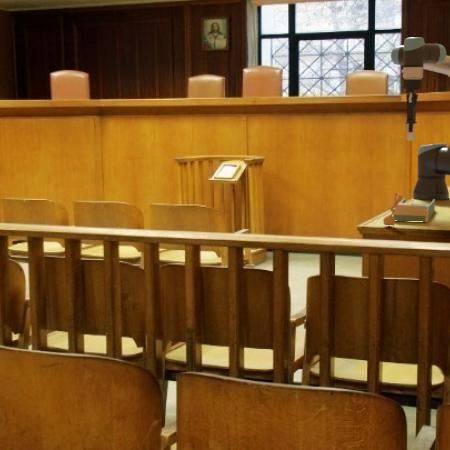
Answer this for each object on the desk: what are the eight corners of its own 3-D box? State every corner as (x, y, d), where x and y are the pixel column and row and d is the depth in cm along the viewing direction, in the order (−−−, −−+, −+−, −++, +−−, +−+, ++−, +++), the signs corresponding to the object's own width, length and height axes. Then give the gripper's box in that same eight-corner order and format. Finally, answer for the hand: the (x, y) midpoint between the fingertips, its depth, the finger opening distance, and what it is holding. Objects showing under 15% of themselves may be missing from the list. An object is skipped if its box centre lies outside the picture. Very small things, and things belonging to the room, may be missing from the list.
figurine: (385, 224, 268) (386, 190, 266) (402, 225, 266) (404, 190, 264) (381, 228, 261) (382, 193, 259) (399, 229, 259) (400, 193, 256)
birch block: (398, 211, 281) (399, 202, 281) (412, 211, 280) (413, 203, 279) (396, 213, 277) (397, 204, 276) (411, 214, 275) (411, 205, 275)
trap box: (404, 209, 302) (404, 194, 301) (434, 210, 298) (435, 195, 297) (393, 221, 275) (393, 204, 274) (426, 223, 271) (427, 206, 270)
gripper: (405, 79, 306) (403, 139, 310) (400, 78, 294) (398, 141, 298) (424, 79, 303) (422, 139, 307) (420, 78, 291) (418, 141, 295)
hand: (410, 140), depth 302 cm, fingers closed
